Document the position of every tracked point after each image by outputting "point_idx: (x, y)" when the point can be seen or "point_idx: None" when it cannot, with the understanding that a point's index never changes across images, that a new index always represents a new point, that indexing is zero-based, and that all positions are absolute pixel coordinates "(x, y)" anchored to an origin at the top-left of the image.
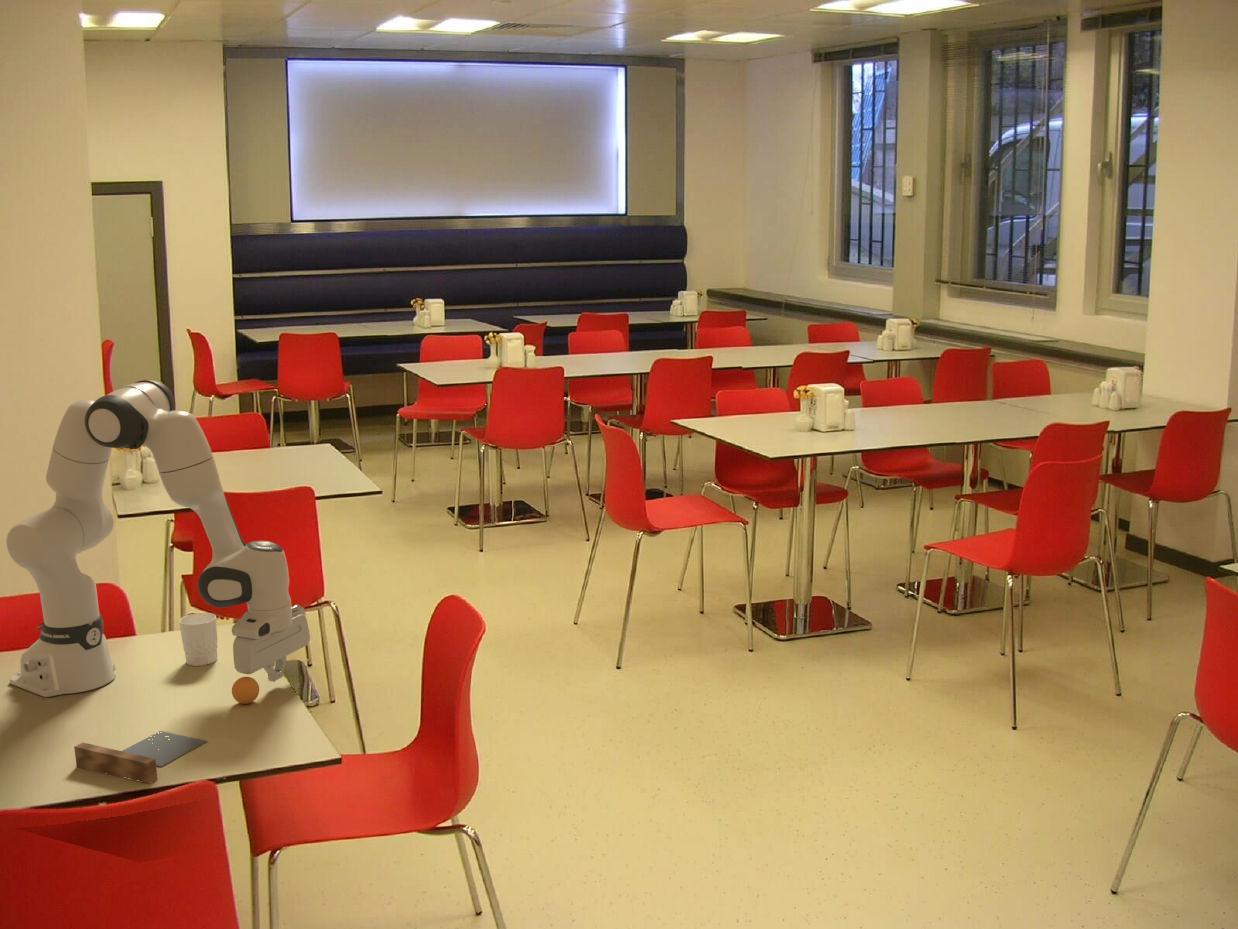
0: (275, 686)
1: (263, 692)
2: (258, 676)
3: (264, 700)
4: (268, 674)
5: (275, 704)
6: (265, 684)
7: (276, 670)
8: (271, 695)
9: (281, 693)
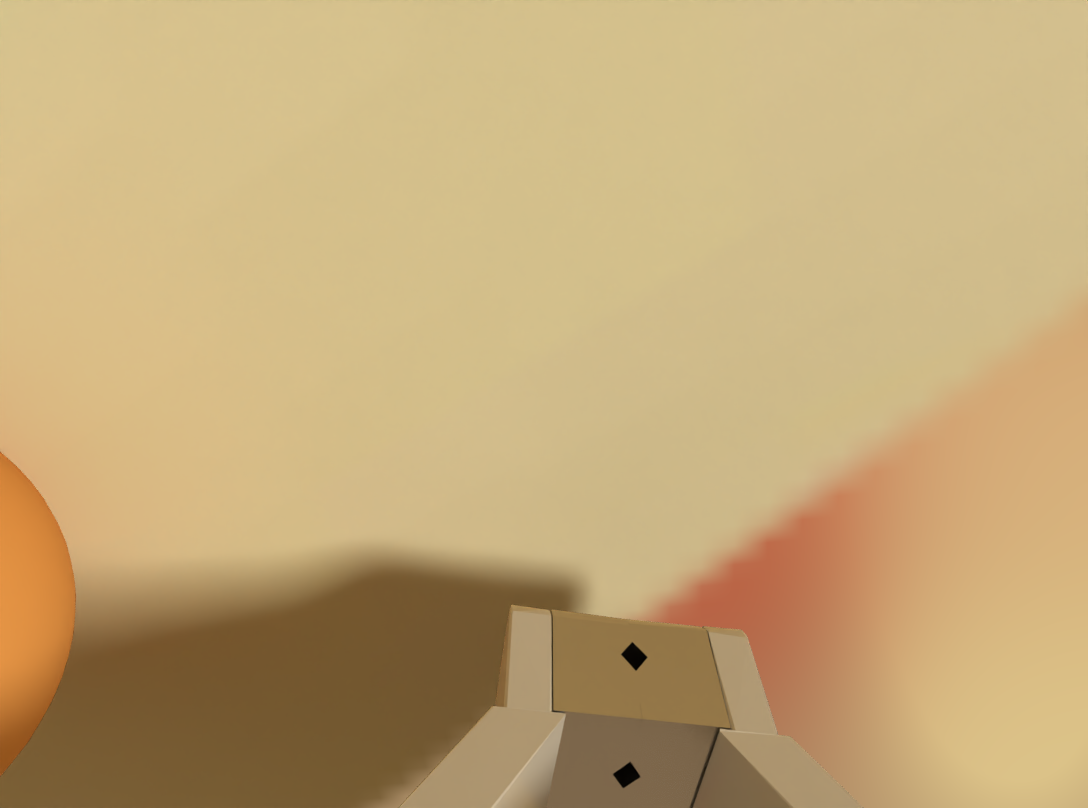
0: (614, 545)
1: (367, 507)
2: (1024, 31)
3: (149, 643)
4: (505, 696)
5: (123, 786)
6: (657, 377)
7: (667, 775)
8: (320, 641)
9: (421, 708)
